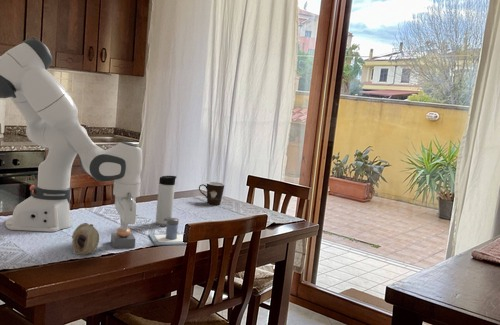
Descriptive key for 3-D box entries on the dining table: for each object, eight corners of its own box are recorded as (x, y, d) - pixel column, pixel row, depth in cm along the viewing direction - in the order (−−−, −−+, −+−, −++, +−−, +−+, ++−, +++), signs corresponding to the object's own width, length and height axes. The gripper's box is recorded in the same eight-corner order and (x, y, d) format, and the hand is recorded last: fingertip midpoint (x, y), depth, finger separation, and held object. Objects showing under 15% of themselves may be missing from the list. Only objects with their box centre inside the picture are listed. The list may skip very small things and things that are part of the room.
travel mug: (168, 227, 205) (173, 177, 202) (152, 224, 206) (157, 175, 203) (174, 223, 211) (178, 175, 208) (158, 221, 212) (163, 173, 209)
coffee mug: (225, 204, 255) (228, 184, 253) (215, 206, 247) (217, 186, 246) (206, 199, 261) (208, 179, 259) (196, 201, 253) (198, 181, 252)
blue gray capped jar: (166, 239, 187) (168, 220, 186) (164, 236, 191) (165, 217, 190) (178, 239, 189) (180, 220, 188) (175, 236, 192) (177, 217, 191)
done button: (117, 244, 176) (118, 231, 175) (115, 240, 180) (116, 227, 179) (130, 244, 178) (131, 231, 177) (128, 240, 182) (129, 227, 181)
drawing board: (155, 245, 182) (155, 243, 182) (148, 235, 192) (149, 233, 192) (193, 244, 188) (194, 242, 187) (185, 235, 197) (185, 233, 197)
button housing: (113, 248, 174) (114, 239, 174) (110, 241, 181) (111, 233, 180) (134, 247, 177) (135, 239, 177) (131, 241, 184) (131, 232, 183)
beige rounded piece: (72, 256, 170) (68, 225, 170) (99, 251, 173) (95, 221, 174) (74, 257, 161) (70, 225, 162) (102, 251, 164) (98, 220, 165)
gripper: (142, 197, 168) (138, 238, 170) (131, 183, 187) (128, 221, 189) (122, 197, 165) (119, 239, 167) (113, 183, 184) (110, 221, 186)
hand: (123, 229), depth 178 cm, fingers closed, pressing on done button
